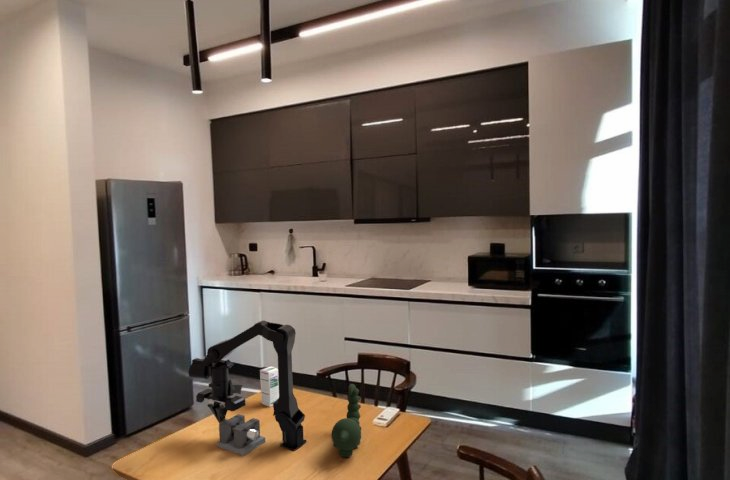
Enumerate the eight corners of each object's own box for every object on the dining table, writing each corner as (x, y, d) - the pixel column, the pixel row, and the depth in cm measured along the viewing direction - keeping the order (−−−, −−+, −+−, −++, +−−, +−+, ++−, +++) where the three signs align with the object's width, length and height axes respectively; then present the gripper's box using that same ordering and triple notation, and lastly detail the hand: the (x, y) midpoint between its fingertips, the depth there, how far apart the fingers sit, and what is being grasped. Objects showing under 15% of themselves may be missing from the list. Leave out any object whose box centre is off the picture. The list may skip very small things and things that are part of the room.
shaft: (261, 439, 143) (261, 425, 142) (250, 446, 138) (250, 431, 138) (230, 430, 150) (229, 416, 150) (219, 436, 146) (218, 422, 145)
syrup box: (270, 407, 173) (269, 372, 172) (260, 404, 176) (259, 369, 176) (281, 402, 177) (279, 368, 177) (271, 399, 181) (270, 365, 181)
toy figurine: (341, 433, 153) (326, 466, 128) (341, 379, 154) (326, 402, 129) (367, 434, 152) (357, 467, 127) (367, 380, 153) (356, 402, 128)
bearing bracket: (265, 441, 145) (264, 420, 145) (243, 455, 137) (242, 432, 136) (240, 433, 151) (239, 413, 151) (217, 446, 143) (216, 424, 142)
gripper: (256, 376, 150) (257, 419, 151) (219, 368, 160) (221, 409, 160) (232, 387, 141) (233, 433, 141) (194, 378, 150) (196, 421, 150)
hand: (221, 423), depth 148 cm, fingers closed
